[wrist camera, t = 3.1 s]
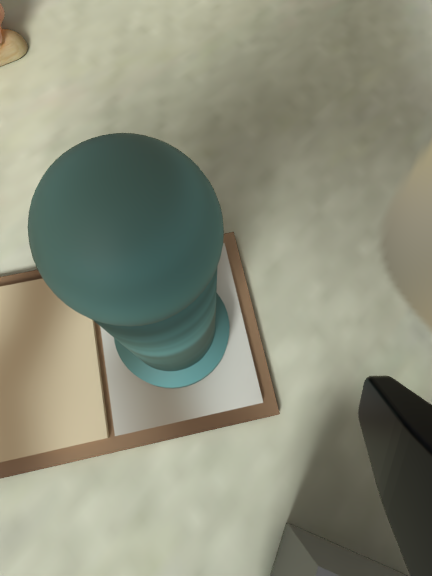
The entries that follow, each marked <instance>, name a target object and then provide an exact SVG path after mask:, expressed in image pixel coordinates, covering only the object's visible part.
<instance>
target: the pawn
mask: <svg viewBox="0 0 432 576" xmlns="http://www.w3.org/2000/svg"><path fill="white" fill-rule="evenodd" d="M28 236H29V243H30V248H31V252H32V257H33V259H34V262H35V264H36V267H37V269H38V271H39V273H40V274H41V276H42V278H43V279H44V281H45V283H46V284H47V285H48V287H49V288H50V289H51V290H52V291H53V293H54V294H55V295H56V296H57V297H58V298H59V299H60V300H61V301H63V302H64V303H65V304H66V305H67V306H69V307H70V308H72V309H73V310H75V311H76V312H78V313H80V314H82V315H84V316H86V317H88V318H90V319H92V320H93V321H95V322H96V323H97V324H98V325H99V326H101V327H102V328H103V329H104V330H105V331H107V332H108V333H109V334H110V335H111V336H113V337H114V342H115V346H116V350H117V352H118V354H119V357H120V358H121V360H122V362H123V363H124V365H125V366H126V367H127V368H128V369H129V370H130V371H131V372H132V373H133V374H134V375H136V376H137V377H138V378H140V379H142V380H143V381H145V382H147V383H149V384H151V385H154V386H157V387H162V388H172V389H173V388H182V387H187V386H190V385H193V384H195V383H197V382H199V381H201V380H203V379H204V378H205V377H207V376H208V375H209V374H210V373H211V372H213V370H214V369H215V368H216V367H217V366H218V364H219V363H220V361H221V360H222V358H223V355H224V353H225V351H226V347H227V344H228V338H229V328H230V326H229V318H228V313H227V310H226V307H225V305H224V303H223V301H222V299H221V298H220V296H219V295H218V294H217V267H218V263H219V260H220V257H221V252H222V247H223V238H224V229H223V218H222V212H221V208H220V204H219V202H218V199H217V197H216V194H215V192H214V189H213V187H212V186H211V184H210V182H209V180H208V179H207V178H206V176H205V175H204V174H203V172H202V171H201V170H200V168H199V167H198V166H197V165H196V164H195V163H194V162H193V161H192V160H191V159H190V158H188V157H187V156H186V155H185V154H183V153H182V152H181V151H179V150H178V149H176V148H175V147H173V146H171V145H169V144H167V143H165V142H163V141H160V140H158V139H155V138H152V137H148V136H144V135H139V134H131V133H116V134H108V135H102V136H98V137H95V138H91V139H89V140H86V141H84V142H81V143H80V144H78V145H76V146H74V147H72V148H71V149H69V150H68V151H66V152H65V153H63V154H62V155H61V156H60V157H59V158H58V159H57V160H55V162H54V163H53V164H52V165H51V166H50V167H49V168H48V170H47V171H46V173H45V174H44V175H43V177H42V179H41V180H40V182H39V184H38V186H37V188H36V190H35V193H34V195H33V198H32V201H31V206H30V210H29V218H28Z"/></svg>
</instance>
